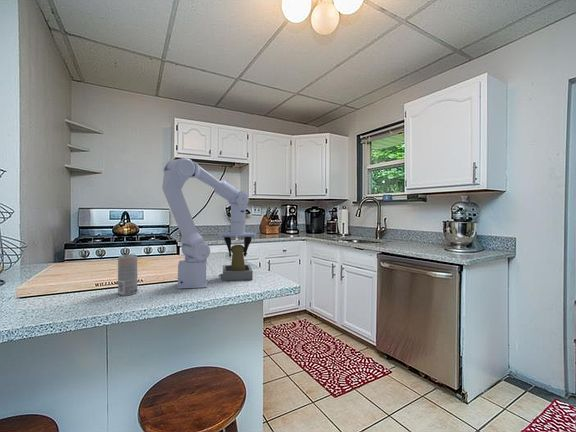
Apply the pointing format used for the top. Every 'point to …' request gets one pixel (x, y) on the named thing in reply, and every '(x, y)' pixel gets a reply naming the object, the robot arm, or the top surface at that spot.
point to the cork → (237, 258)
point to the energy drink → (127, 274)
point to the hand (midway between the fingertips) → (237, 256)
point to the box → (237, 274)
